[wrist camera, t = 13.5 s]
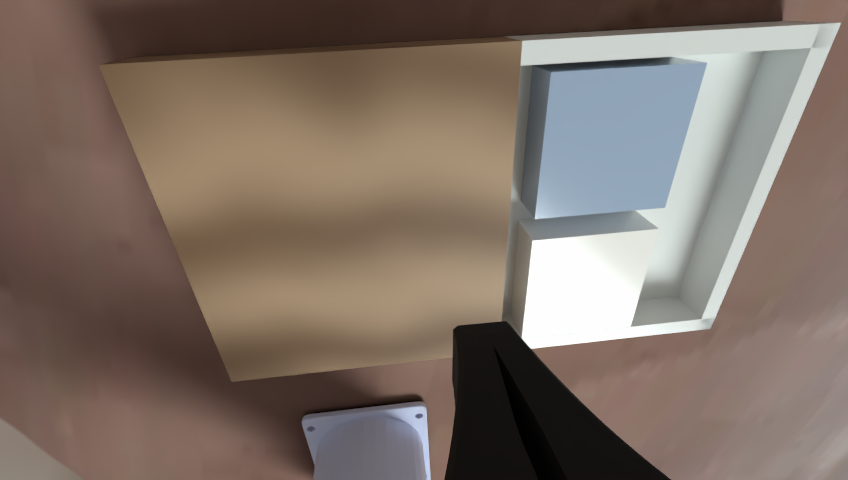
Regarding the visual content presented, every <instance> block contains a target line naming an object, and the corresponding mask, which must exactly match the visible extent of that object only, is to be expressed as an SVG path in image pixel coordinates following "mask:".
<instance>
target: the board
mask: <svg viewBox="0 0 848 480" xmlns="http://www.w3.org/2000/svg"><path fill="white" fill-rule="evenodd" d="M521 52H522V41H521V40H517V39H512V38H508V37H503V36H502V37H484V38H466V39H448V40H430V41H412V42H394V43H376V44H358V45H341V46H323V47H305V48H287V49H269V50H251V51H233V52H215V53H197V54H179V55H161V56H143V57H133V58H128V59H124V60H119V61H114V62H109V63H104V64H100V65H98V66H99V68H100V70H101V73H102V75H103V78H104V80H105V82H106V85H107V87H108V89H109V92H110V94H111V97H112V99H113V101H114V104H115V106H116V109H117V111H118V113H119V116H120V118H121V120H122V123H123V125H124V128H125V130H126V132H127V135H128V137H129V139H130V142H131V144H132V147H133V149H134V151H135V154H136V156H137V158H138V161H139V163H140V166H141V168H142V170H143V173H144V175H145V178H146V180H147V182H148V185H149V187H150V189H151V192H152V194H153V197H154V199H155V201H156V204H157V206H158V208H159V211H160V213H161V216H162V218H163V220H164V223H165V225H166V228H167V230H168V232H169V235H170V237H171V239H172V242H173V244H174V247H175V249H176V251H177V254H178V256H179V258H180V261H181V263H182V266H183V268H184V270H185V273H186V275H187V278H188V280H189V282H190V285H191V287H192V289H193V292H194V294H195V297H196V299H197V301H198V304H199V306H200V308H201V311H202V313H203V316H204V318H205V320H206V323H207V325H208V327H209V330H210V332H211V335H212V337H213V339H214V342H215V344H216V347H217V349H218V351H219V354H220V356H221V358H222V361H223V363H224V366H225V368H226V370H227V373H228V375H229V377H230V380H231V382H236V381H245V380H254V379H263V378H272V377H281V376H290V375H299V374H308V373H317V372H326V371H334V370H343V369H352V368H361V367H370V366H379V365H388V364H397V363H406V362H415V361H424V360H433V359H442V358H451V357H453V329H454V328H455V327H456V326H458V325H469V324H479V323H490V322H500V321H502V310H503V296H504V283H505V269H506V255H507V242H508V228H509V215H510V201H511V187H512V174H513V160H514V147H515V133H516V119H517V106H518V92H519V79H520V65H521Z"/></svg>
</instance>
